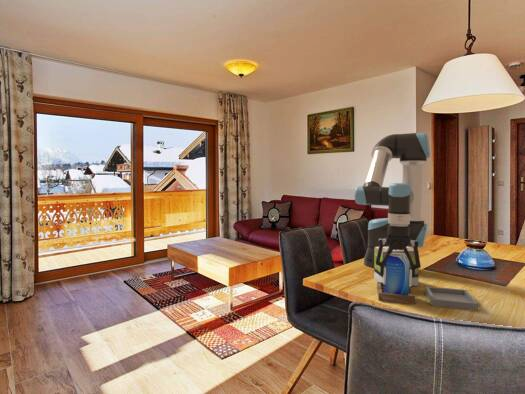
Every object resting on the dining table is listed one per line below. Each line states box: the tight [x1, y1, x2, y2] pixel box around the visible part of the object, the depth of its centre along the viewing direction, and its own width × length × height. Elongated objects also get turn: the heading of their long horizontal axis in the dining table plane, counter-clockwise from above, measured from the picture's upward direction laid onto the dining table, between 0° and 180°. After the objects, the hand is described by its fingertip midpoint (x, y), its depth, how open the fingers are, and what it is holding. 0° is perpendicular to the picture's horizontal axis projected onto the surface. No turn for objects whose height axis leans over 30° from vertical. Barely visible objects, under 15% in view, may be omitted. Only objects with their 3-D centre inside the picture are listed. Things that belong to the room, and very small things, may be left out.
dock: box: [376, 281, 416, 305], centre depth 126 cm, size 13×12×2 cm
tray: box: [424, 285, 480, 312], centre depth 120 cm, size 14×14×2 cm
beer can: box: [384, 252, 410, 295], centre depth 125 cm, size 8×8×16 cm
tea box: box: [373, 246, 420, 287], centre depth 140 cm, size 15×10×15 cm
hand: (396, 284), depth 125 cm, fingers closed on beer can, 8 cm apart
